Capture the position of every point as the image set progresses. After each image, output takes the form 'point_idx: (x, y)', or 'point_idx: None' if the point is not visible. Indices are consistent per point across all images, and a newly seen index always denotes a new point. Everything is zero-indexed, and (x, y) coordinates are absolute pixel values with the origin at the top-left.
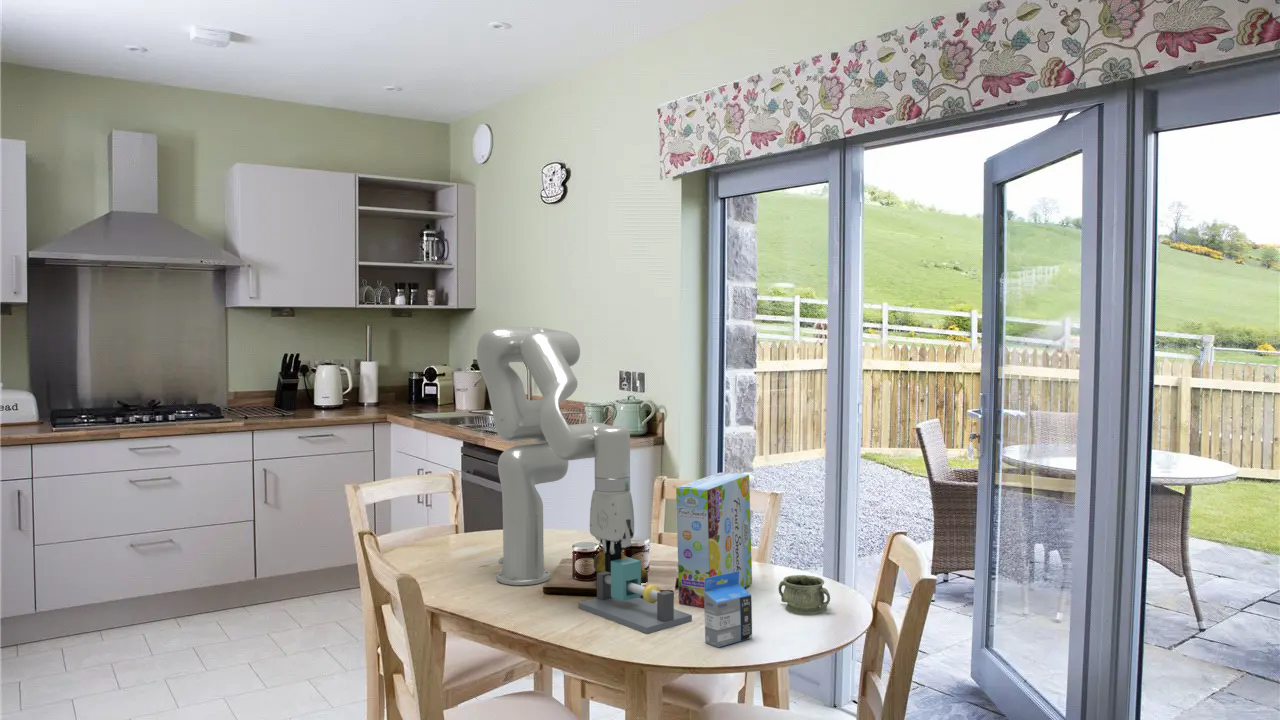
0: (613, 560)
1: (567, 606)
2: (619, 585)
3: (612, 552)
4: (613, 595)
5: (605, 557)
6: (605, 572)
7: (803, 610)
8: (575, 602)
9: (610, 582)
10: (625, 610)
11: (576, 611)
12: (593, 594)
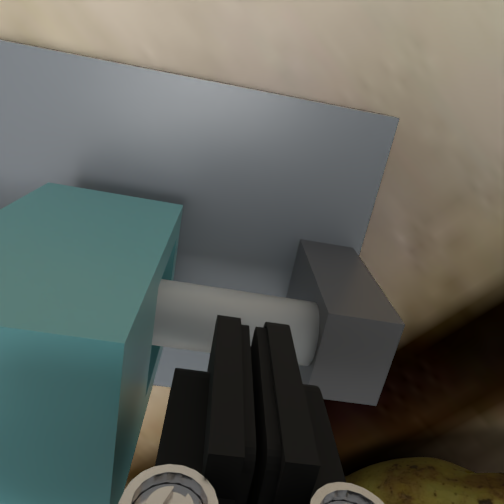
0: (190, 422)
1: (464, 99)
2: (51, 220)
3: (157, 494)
4: (152, 204)
5: (299, 415)
6: (360, 381)
7: None
8: (466, 187)
9: (240, 293)
10: (59, 176)
11: (359, 56)
12: (458, 341)
